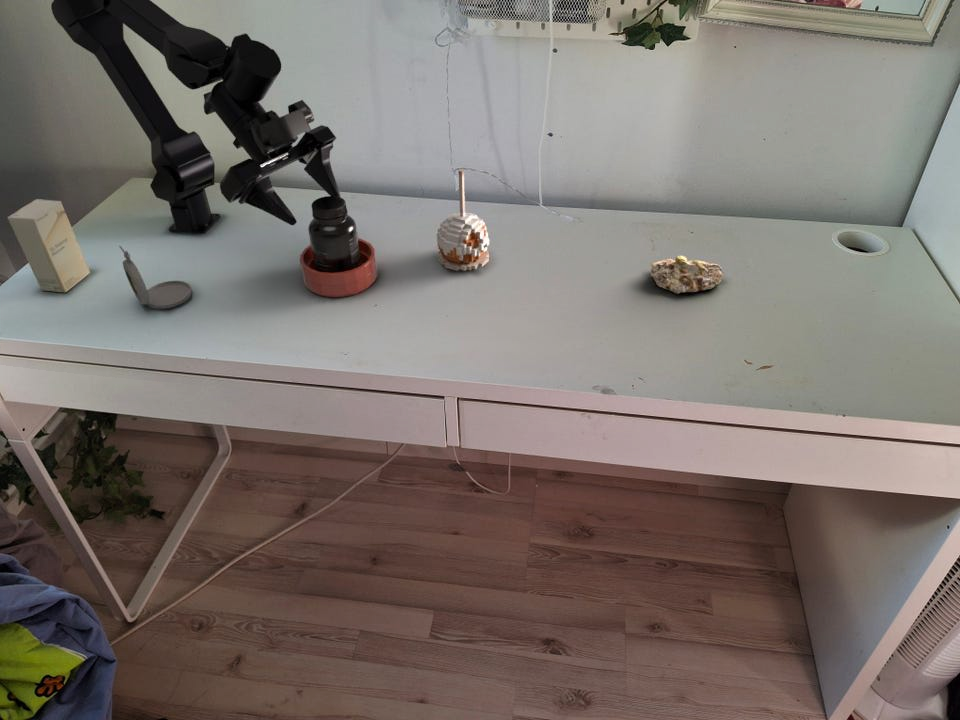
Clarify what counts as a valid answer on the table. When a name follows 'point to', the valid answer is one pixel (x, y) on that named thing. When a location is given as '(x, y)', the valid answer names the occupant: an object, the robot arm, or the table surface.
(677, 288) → the mineral rock
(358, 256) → the supplement bottle
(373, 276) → the bowl
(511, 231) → the table surface
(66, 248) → the cosmetic box
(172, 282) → the pocket watch
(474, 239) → the caramel apple
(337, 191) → the robot arm
